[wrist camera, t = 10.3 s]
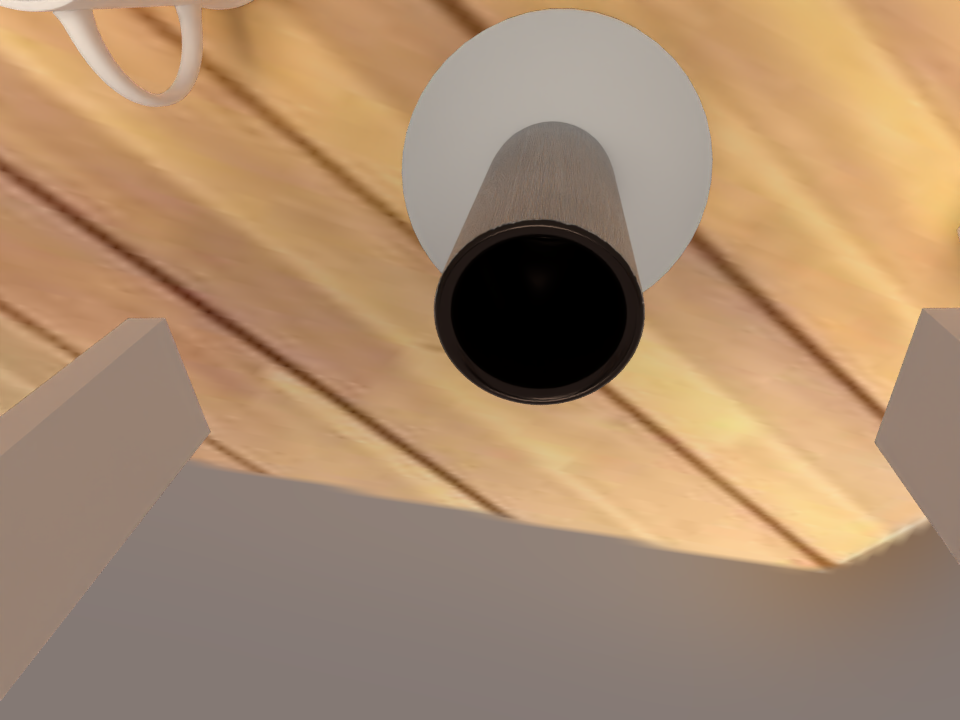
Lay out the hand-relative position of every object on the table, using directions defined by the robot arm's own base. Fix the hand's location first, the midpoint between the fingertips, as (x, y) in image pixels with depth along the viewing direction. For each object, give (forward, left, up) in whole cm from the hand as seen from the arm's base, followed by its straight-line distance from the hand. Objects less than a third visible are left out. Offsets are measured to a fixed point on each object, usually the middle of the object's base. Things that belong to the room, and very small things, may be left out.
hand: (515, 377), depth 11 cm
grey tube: (0, 0, -13) cm, 13 cm away
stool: (0, 0, -23) cm, 23 cm away
